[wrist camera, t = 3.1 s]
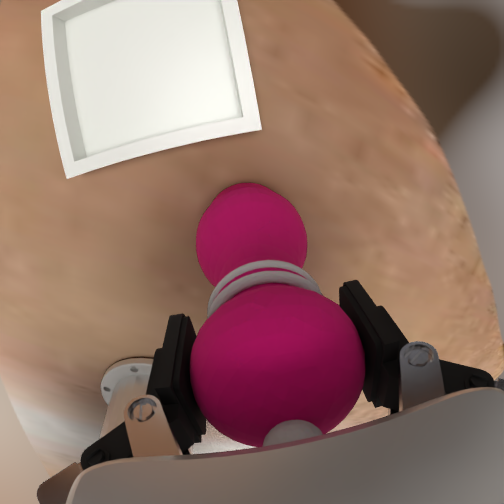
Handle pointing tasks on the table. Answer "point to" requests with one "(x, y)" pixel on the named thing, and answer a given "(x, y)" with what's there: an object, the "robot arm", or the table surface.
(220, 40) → the tray
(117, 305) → the table surface
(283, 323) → the pepper mill
